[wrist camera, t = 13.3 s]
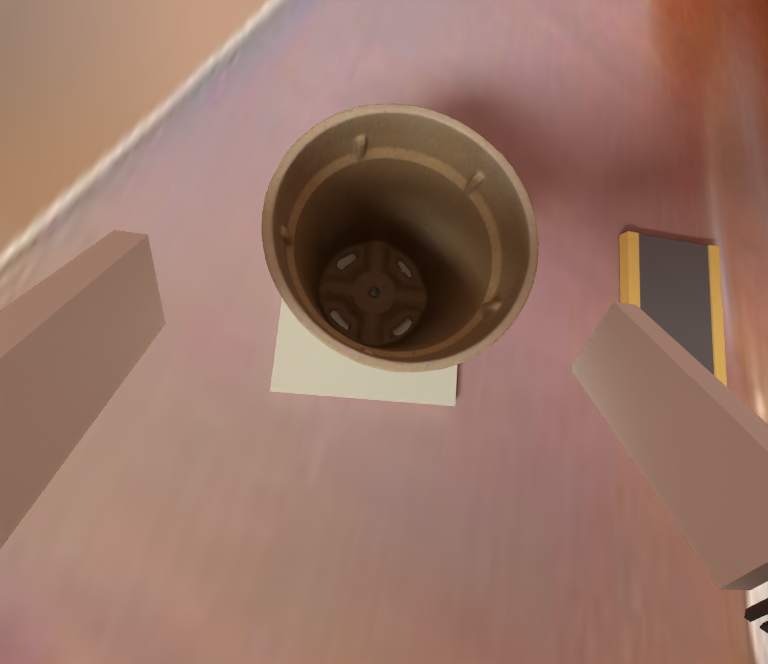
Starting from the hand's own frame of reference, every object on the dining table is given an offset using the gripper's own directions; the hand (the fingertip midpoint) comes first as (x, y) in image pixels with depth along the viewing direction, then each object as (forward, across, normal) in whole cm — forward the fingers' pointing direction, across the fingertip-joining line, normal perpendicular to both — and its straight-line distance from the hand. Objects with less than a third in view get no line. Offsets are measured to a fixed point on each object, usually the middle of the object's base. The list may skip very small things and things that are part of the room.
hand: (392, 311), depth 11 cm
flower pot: (+9, 0, -5) cm, 10 cm away
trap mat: (+10, +20, -5) cm, 23 cm away
